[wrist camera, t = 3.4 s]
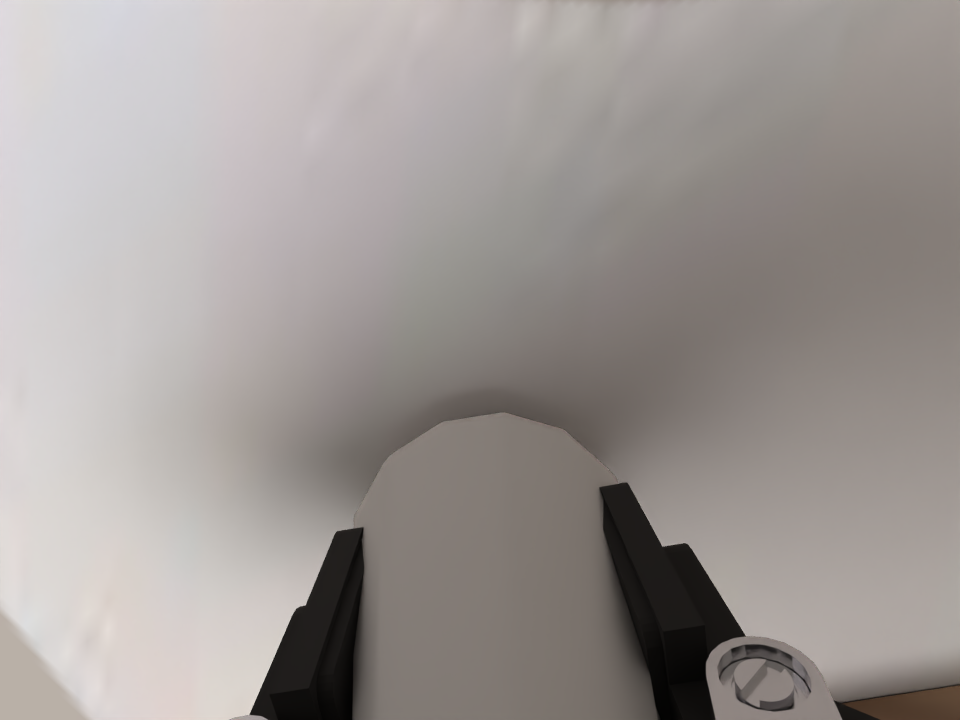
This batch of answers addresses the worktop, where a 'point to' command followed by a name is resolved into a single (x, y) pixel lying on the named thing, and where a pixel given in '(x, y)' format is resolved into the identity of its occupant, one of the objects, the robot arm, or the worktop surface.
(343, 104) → the worktop surface
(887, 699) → the walnut riser block
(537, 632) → the salt shaker
